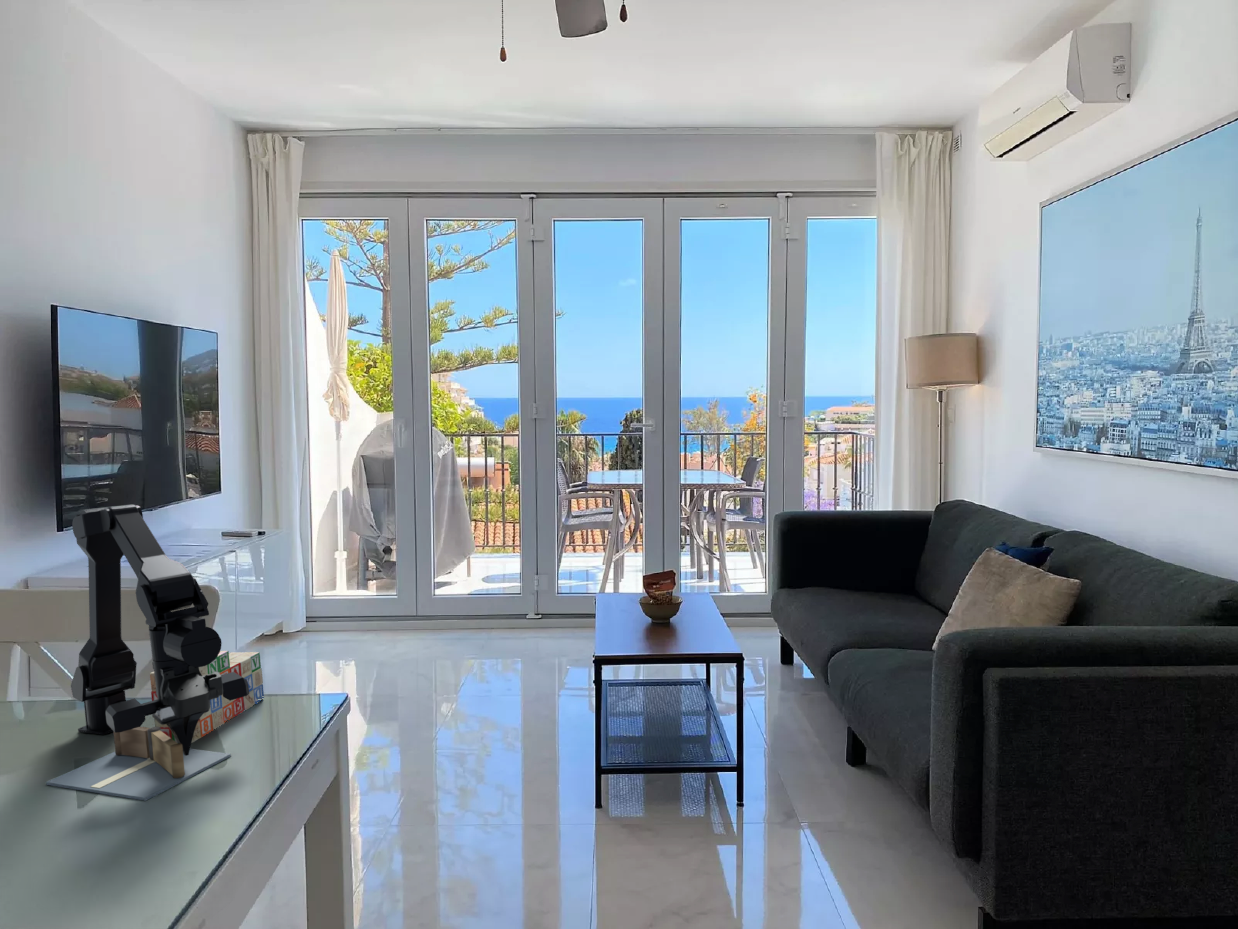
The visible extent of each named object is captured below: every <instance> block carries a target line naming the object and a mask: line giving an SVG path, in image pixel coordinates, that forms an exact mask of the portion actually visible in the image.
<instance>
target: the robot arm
mask: <svg viewBox="0 0 1238 929" xmlns="http://www.w3.org/2000/svg"><path fill="white" fill-rule="evenodd" d="M71 528H72V532H73V535H74V538H76V540H75V541H76V544H77V546H78V547H79V548H80V549H81V550H82V552H83V553H84V554H85V556H86V557H87V561H88V562H87V563H88V564H87V565H88V606H89V609H88V610H89V614H88V616H89V617H88V618H89V621H88V622H89V638H88V640H87V641H86V642H85V644H84V646H83V647H82V648H81V650H80V652H79V653H78V666H77V667H75V671H74V674H73V676H72V680H71V683H70V688H71V694H72V698H73V699H76V700H77V701H79V702H81V703H83V708H84V716H85V718H84V719H85V725H84V726H81V727H79V728H77V732H78V733H86V734H94V735H102V736H104V735H107V734H110V733H112V732H113V731H114V732H115V733H117V732H123V731H127V730H130V729H134V728H137V727H142V725H143V723H145V721H146V719H147V718H146V716H152V718H153V720H154V719H155V720H157V721H158V722H159V723H160V724H162V725H165V724H167V726H168V727H169V728H170V730H171V731H172V733H173V735H174V737H175V738H176V740H177V742H178V743H181V744H182V747H183V753H184V755H185V756H187V755H189V751H190V749H191V746H192V739H193V735H194V731H195V728H196V725H197V723H198V720H199V719H200V717H201V716H202V715H203V714H204V713H206V712H208V711H209V709H210V700H211V699H215V698H218V697H219V696H221V695H222V694H223V697H225V698H226V699H228V700H230V701H231V700H234V699H237V698H241V697H244V696H247V695H249V686H248V682H247V680H246V679H245V678H243V677H241V676H240V675H238V674H236V673H235V672H231V673H227V674H224V675H220V674H219V672H216V673H212V674H208V675H204V676H202V675H201V673H200V671H199V667H203V666H206V665H208V664H210V663H211V662H213V661H214V660H215V659H216V658H217V656H218V654H219V653H220V651H222V650H221V649H222V644H223V642H222V639H221V637H220V635H219V633H218V631H217V630H215V629H213V627H208V626H207V624H206V618H204V617H207V616H210V613H209V609H208V606H209V601H208V600H207V598H206V595H205V594H204V592H203V590H202V588H201V587H200V584H199V583H198V581H197V579H196V578H195V577H194V576H193V575H192V573H191V572H190V571H189V570H188V569H187V567H186V566H185V565H184V564H183V563H181V562H179V561H176V560H173V559H171V558H169V557H168V556H167V554H166V553H165V551H164V550H163V548H162V546H161V545H160V543H159V542H158V540H157V538H156V537H155V535H154V534H153V532H152V531H151V529H150V527H149V526H148V524H147V522H146V520H144V514H143V511H142V508H141V506H140V505H138V504H137V505H136V504H133V503H132V504H123V505H121V504H120V505H113V506H106V507H103V506H102V507H96V508H95V507H94V508H86V509H81V510H80V511H79V514H76V515H75V517H74V518H72V527H71ZM123 557H125V559H126V560H127V562H128V564H129V566H130V567H131V569H132V571H133V572H134V574H135V575H136V578H137V583H136V589H135V597H136V603H137V606H138V607H139V609H140V610H141V613H142V614H143V616H144V617H145V619H146V620H145V624H146V625H147V626H148V633H149V634H148V635H149V642H150V650H151V658H152V669H153V671H154V675H155V683H156V695H157V698H158V699H157V700H154V701H152V700H150V701H148V702H143V703H140V702H139V701H138V700H137V699H136V698H130V699H128V700H127V699H126V691H128V690H132V689H135V688H136V676H137V664H138V662H137V661H136V660H135V658H134V657H135V656H134V655H135V654H134V653H133V651H132V650H131V649H130V647H129V646H128V645H127V644H126V643H125V641H124V640H123V638H122V577H121V576H122V575H121V574H122V570H121V568H122V564H121V562H122V561H121V560H122V559H123ZM114 732H113V733H114Z"/></svg>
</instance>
